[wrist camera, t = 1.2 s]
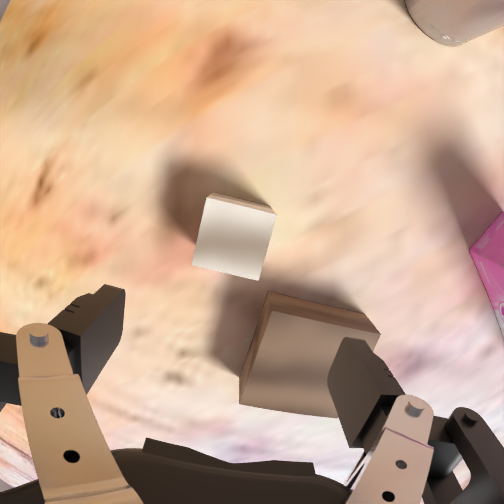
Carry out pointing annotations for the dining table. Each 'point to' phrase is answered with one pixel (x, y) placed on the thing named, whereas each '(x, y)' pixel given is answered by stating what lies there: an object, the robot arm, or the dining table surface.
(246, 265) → the ash cube
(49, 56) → the dining table surface
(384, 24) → the dining table surface
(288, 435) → the dining table surface
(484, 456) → the robot arm
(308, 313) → the walnut block
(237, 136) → the dining table surface
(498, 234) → the gum box
